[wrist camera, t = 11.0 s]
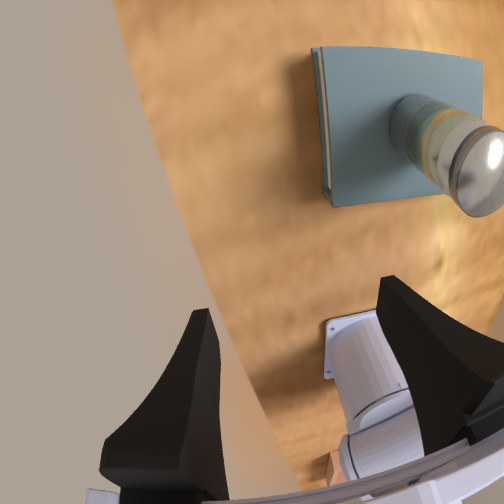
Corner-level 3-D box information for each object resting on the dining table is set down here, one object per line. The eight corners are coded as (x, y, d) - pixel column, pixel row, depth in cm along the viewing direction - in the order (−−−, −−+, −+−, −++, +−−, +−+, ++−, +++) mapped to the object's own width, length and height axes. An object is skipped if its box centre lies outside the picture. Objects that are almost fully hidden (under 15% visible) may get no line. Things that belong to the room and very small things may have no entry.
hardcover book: (457, 178, 22) (474, 190, 20) (322, 193, 22) (333, 207, 20) (461, 57, 16) (481, 61, 14) (310, 48, 16) (322, 46, 14)
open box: (394, 455, 58) (398, 469, 55) (325, 474, 58) (328, 489, 55) (413, 427, 49) (420, 444, 45) (330, 452, 49) (334, 470, 46)
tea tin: (447, 152, 18) (514, 205, 13) (392, 167, 19) (454, 228, 13) (443, 88, 15) (523, 125, 10) (383, 99, 16) (458, 139, 10)
